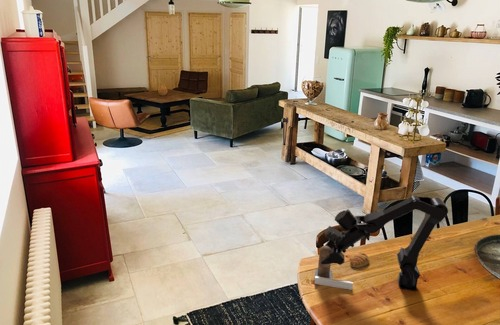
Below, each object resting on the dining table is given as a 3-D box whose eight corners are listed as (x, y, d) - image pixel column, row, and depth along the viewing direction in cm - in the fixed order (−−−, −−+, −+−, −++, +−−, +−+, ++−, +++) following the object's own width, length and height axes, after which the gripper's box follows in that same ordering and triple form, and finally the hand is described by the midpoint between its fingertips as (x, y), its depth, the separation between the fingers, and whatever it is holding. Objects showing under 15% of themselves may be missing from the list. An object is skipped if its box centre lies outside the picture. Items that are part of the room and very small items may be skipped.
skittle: (331, 273, 171) (334, 246, 166) (325, 279, 167) (328, 251, 162) (321, 269, 174) (323, 242, 169) (315, 274, 170) (317, 246, 165)
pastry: (359, 271, 174) (360, 263, 172) (345, 264, 178) (346, 257, 177) (370, 262, 180) (371, 255, 179) (357, 256, 184) (357, 249, 183)
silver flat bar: (352, 288, 162) (353, 282, 161) (352, 289, 161) (352, 283, 160) (314, 282, 166) (315, 276, 165) (314, 283, 165) (315, 277, 164)
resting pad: (332, 271, 173) (332, 270, 173) (331, 281, 166) (331, 280, 166) (315, 269, 174) (315, 268, 174) (314, 278, 168) (314, 277, 168)
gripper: (337, 212, 170) (309, 232, 175) (338, 234, 152) (307, 256, 158) (354, 231, 171) (326, 250, 177) (357, 254, 154) (326, 275, 159)
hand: (321, 257), depth 168 cm, fingers open, 9 cm apart
